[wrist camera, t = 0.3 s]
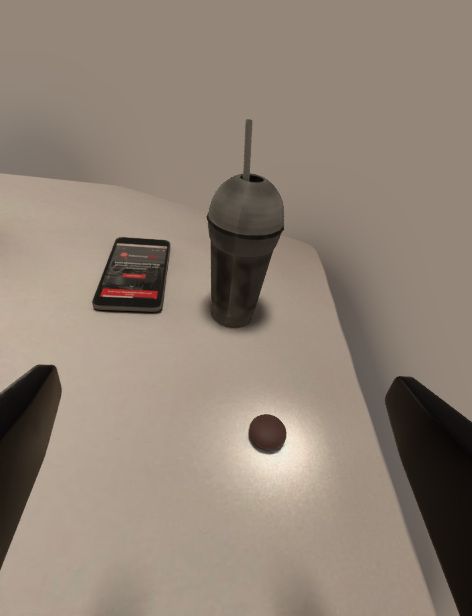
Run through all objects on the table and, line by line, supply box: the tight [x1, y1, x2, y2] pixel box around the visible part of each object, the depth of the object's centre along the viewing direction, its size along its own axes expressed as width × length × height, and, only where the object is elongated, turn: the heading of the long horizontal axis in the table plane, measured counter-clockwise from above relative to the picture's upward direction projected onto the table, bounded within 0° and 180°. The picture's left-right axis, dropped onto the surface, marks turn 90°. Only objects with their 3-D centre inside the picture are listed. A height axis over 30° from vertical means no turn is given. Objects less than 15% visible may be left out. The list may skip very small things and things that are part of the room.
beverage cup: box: [207, 119, 284, 328], centre depth 34 cm, size 7×7×20 cm
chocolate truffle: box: [249, 414, 286, 450], centre depth 28 cm, size 3×3×2 cm
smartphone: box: [92, 237, 170, 312], centre depth 44 cm, size 7×1×15 cm
